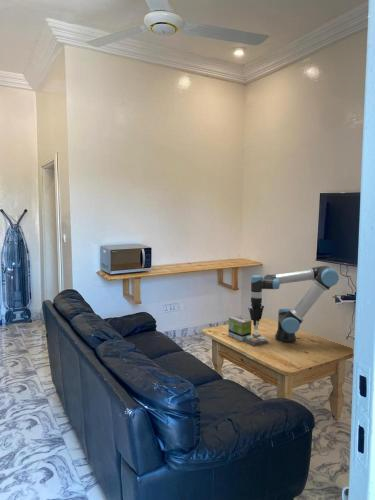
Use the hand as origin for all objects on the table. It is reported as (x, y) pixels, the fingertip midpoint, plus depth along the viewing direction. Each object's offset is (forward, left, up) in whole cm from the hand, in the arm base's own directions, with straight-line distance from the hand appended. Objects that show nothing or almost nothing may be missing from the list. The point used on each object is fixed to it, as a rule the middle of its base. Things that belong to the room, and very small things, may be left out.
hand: (255, 329), depth 276 cm
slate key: (-6, -6, -10) cm, 12 cm away
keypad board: (-3, -3, -11) cm, 12 cm away
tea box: (+1, -17, -11) cm, 21 cm away
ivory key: (-6, 0, -11) cm, 12 cm away
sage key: (0, -6, -11) cm, 12 cm away
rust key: (0, 0, -11) cm, 11 cm away
